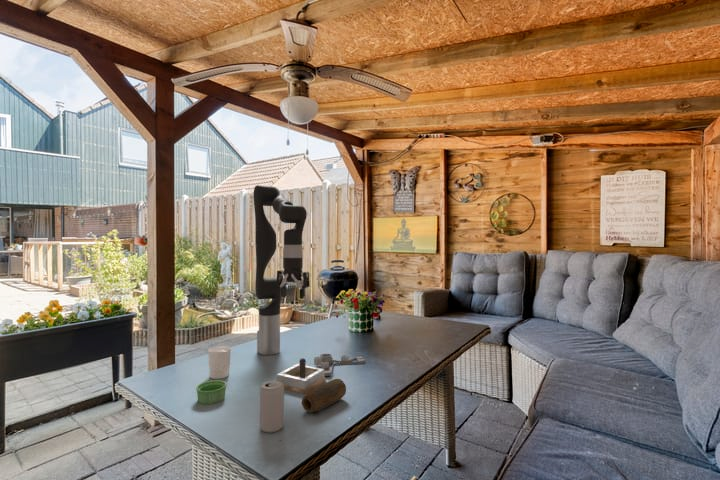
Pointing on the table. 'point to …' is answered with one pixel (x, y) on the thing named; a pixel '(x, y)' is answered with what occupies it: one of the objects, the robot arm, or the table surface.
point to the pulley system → (327, 359)
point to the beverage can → (271, 406)
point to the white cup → (219, 361)
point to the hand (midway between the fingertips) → (292, 297)
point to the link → (302, 383)
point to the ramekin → (211, 391)
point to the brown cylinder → (324, 395)
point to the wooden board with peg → (302, 375)
